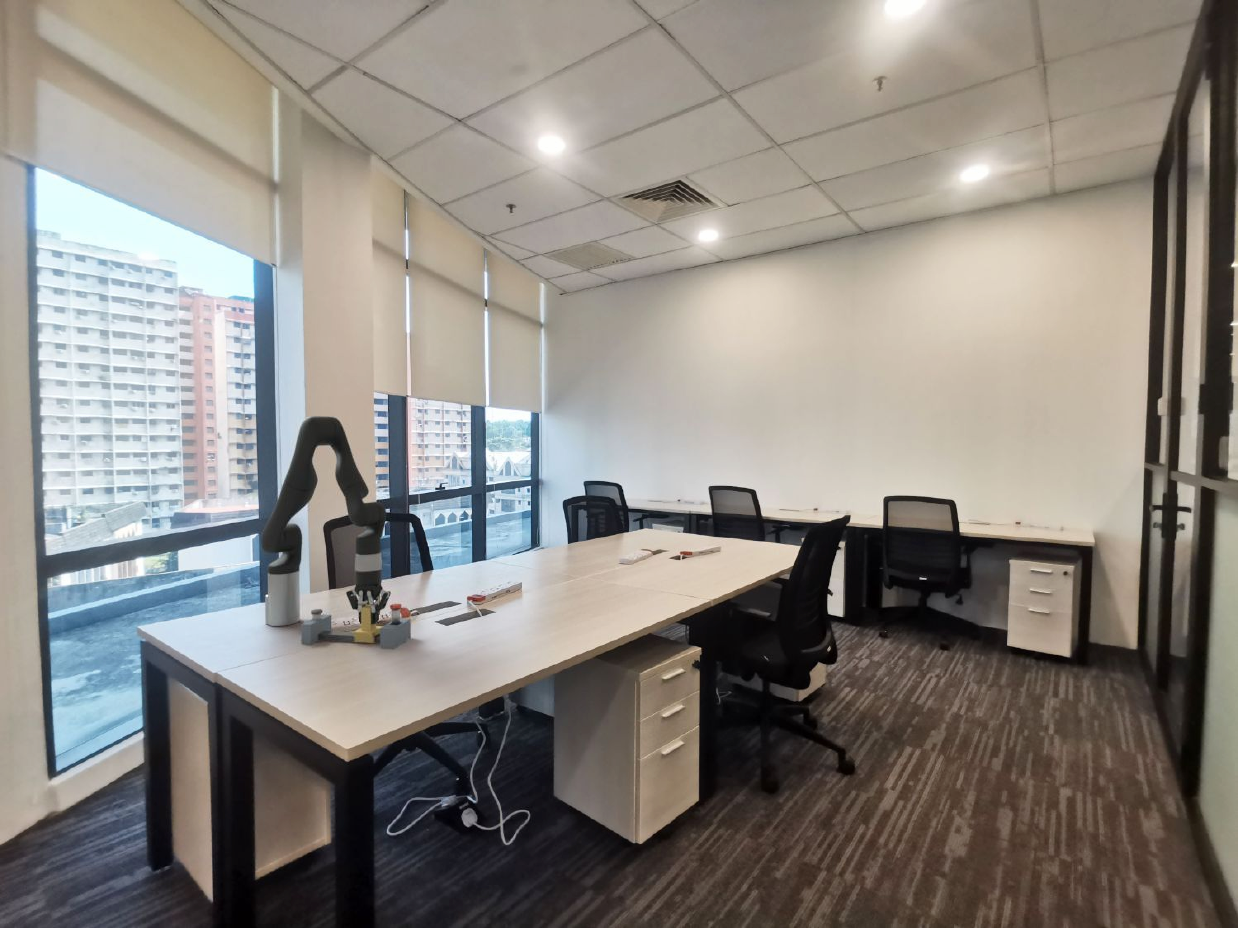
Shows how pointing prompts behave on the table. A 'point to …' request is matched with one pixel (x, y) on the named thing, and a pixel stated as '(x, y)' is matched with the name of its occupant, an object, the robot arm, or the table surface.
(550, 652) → the table surface
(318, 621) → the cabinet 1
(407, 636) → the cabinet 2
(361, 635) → the carriage
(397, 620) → the plunger
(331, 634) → the rail
